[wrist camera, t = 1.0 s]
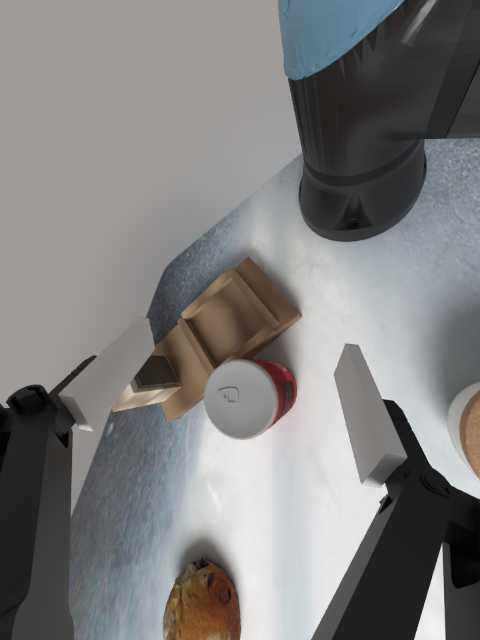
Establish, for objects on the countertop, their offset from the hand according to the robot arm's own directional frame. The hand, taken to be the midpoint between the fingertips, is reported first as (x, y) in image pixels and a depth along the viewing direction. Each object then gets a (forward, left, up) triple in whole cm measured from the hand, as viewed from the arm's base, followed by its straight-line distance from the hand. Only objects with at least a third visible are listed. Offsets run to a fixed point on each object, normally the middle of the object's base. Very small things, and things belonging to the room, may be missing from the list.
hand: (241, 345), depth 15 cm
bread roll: (+29, +18, -18) cm, 39 cm away
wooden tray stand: (+9, -9, -18) cm, 22 cm away
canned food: (+6, +2, -18) cm, 19 cm away
